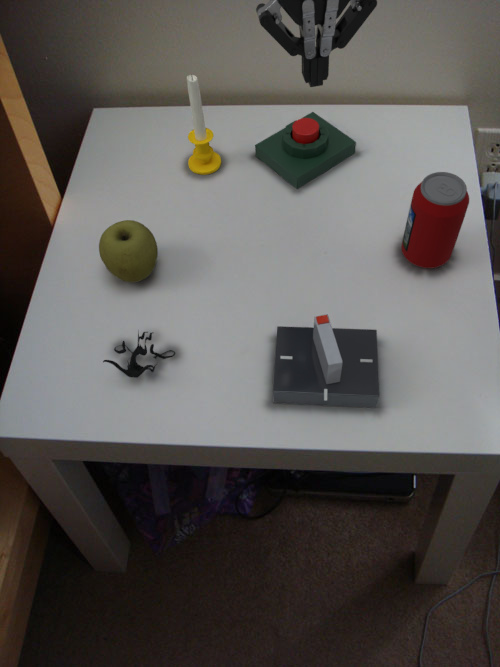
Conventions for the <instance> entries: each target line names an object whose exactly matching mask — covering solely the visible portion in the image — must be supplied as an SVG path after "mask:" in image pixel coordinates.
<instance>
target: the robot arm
mask: <svg viewBox="0 0 500 667" xmlns="http://www.w3.org/2000/svg"><path fill="white" fill-rule="evenodd" d="M348 5H349V6H348ZM347 6H348V7H347ZM377 6H378V0H268V1H267V2H266V3H263V2H262V3H259V4H257V6H256V8H255V11H256V15H257V18H258V21H259V25H260V26H261V27H262V28H263V29H264V30H265V31H266V32H267V33H268V34H269V35H270V37H272V38H273V39H274V41H276V43H277V44H278V45H279V46H281V48H282V49H284V51H285V52H287V54H289V55H290V56H291V57H297V56H300V57H301V75H302V78H303V80H304V83H305V84H308V85H309V88H315V87H323V86H324V81H327V80H328V78H329V75H330V74H329V71H330V70H329V69H330V55H331V53H332V51H334V50H336V49H340V50H341V49H344V48H346V47H347V45H348V44H349V43H350V42H351V41H352V40H353V37H354V36H355V35H356V33H357V32H358V31H359V30H360V29H361V27H362V26H363V24H364V23H365V22H366V20H367V19H368V18H369V17H370V15H371V14H372V12H373V11H374V10H375V9H376V8H377ZM281 8H282V9H283V10H284V11H285V13H286V14H287V15H288V16H289V18H290V19H291V20H292V21H293V22H294V23H295V24H296V25H297V26H298V30H299V36H296V35H295V34H294V33H293V32H292V31H291V30H290V29H289V27H287V25H285V24H284V23H283V21H282V20H283V15H282V12H281ZM346 8H347V9H346ZM344 10H345V11H344ZM343 12H344V13H343ZM342 13H343V14H342ZM341 15H342V16H341ZM339 17H340V18H339ZM338 18H339V19H338ZM337 19H338V20H337Z"/></svg>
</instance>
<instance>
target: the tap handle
mask: <svg viewBox="0 0 500 667" xmlns="http://www.w3.org/2000/svg"><path fill="white" fill-rule="evenodd" d="M313 328H314V330H313V340H314V343H315V347H316V350H317V353H318V357H319V360H320V364H321V367H322V371H323V374H324V378H325V381H326V384H331V383H337V382H340V377H341V370H342V363H343V361H342V358H341V355H340V352H339V349H338V345H337V342H336V339H335V336H334V333H333V330H332V328H333V326H332V323H331V319H330V317H329V315H328V314H322V315H316V316H314V317H313Z"/></svg>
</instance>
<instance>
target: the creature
mask: <svg viewBox="0 0 500 667" xmlns="http://www.w3.org/2000/svg"><path fill="white" fill-rule="evenodd" d="M139 331H140V330H139V329H138V330H137V345H136V347H135V348H134V351H131V349H130V348H129V347H128V346H127V345H126V342H125V340H123V341H122V342H121V344H120V345H117V346H115V347H114V349H113V350H114V352H115V353H117V354H119V355H120V354H125V353H126V352H127V350H128V351H129V352H131V356H130V357H129V358H128V360H127V366H126V368H127V369H125V368H124V367H122V366H120V364H118V363H117V361H114V360H111V359H104V360H102V363H109V364H111V365H113V366H114V367H115V368H116V369H117V370H118V371H120V372H122V373H123V374H125V376H126V377H128V378H133V379H134V378H135V379H137V378H139V377H140V376H141V375H142V374H143V373H144V372H145V371H146V370H147V371H148V370H149V371H150V372H151V373H154V371H155V369H156V366H158V363H156V364H154V365H153V364H146V365H145V366H142V365H140V364H138V362H137V356H139V355H141V356H143V357H144V356H146V355H147V354H148V348H147V344H146V343H147V341H152V338H153V336H152V335H153V334H154V332H150V333H149V331H143V332H142V334H141V336H140V332H139ZM148 333H149V335H148V336H146V337H145V335H146V334H148ZM140 340H141V341H142V340H144V348H143V346H142V345H141V344H140V343H141V342H140ZM120 346H121V347H122V349H120V350H117V348H118V347H120ZM149 346H150V347H149V353H150V354H151V355H154V356H153V359H155V360H157V358H160V359H162V360H165V359H170V358H173V357H175V355H176V352H175V351H174V350H171V349H169V350H167V351H164V352H162V353H158V352H156V351H154V347H155V345H154V343H151V345H149ZM168 352H173V353H172V355H166V356H165V354H167V353H168Z"/></svg>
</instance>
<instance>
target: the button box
mask: <svg viewBox="0 0 500 667" xmlns="http://www.w3.org/2000/svg"><path fill="white" fill-rule="evenodd" d="M302 118H311V119H313V120H315V121H317V122H318V124H319V137H318V139H317V140H316V141H315V142H313V143H309V144H301V143H297V142H296V141H294V139H293V137H292V126H293V124H294V122H295V121H297V120H298V119H296V120H293V121H292V122H289V123H288V124H286V125H285V127H283V128H282V129H280V130H278V131H277V132H275V133H273V134H272V135H270V136H268V137H266V138H265V139H263V140H261V141H259V142H258V143H256V144H254V149H255V151H254V152H255V157H256V158H257V159H259V160H260V161H261V162H262V163H263V164H265V165H266V166H267V167H269V168H270V169H271V170H273V171H274V172H275V173H276V174H277V175H278V176H280V177H281V178H283V180H284V181H286V182H288V183H289V185H291V186H292V187H293V188H295V189H296V190H298V189H300V188H301V187H303V186H305V185H306V184H307V183H309V182H312V181H313V180H314V179H316V178H317V177H319V176H321V175H323V174H324V173H325V172H327V171H329V170H331V169H332V168H333V167H336V166H337V165H338V164H340V163H342V162H343V161H345V160H346V159H349V157H351V156H353V155H354V154H356V147H357V141H356V140H354V139H353V138H352V137H350V136H348V135H347V134H345V132H343V131H341V130H340V129H338V128H337V127H335V126H334V125H333V124H331V123H330V122H329V121H327V120H326V119H324V118H323V117H321V116H320V115H318V114H317V113H315V112H314V111H312V112H310V113H307V114H306V115H305V116H303V117H302Z"/></svg>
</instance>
